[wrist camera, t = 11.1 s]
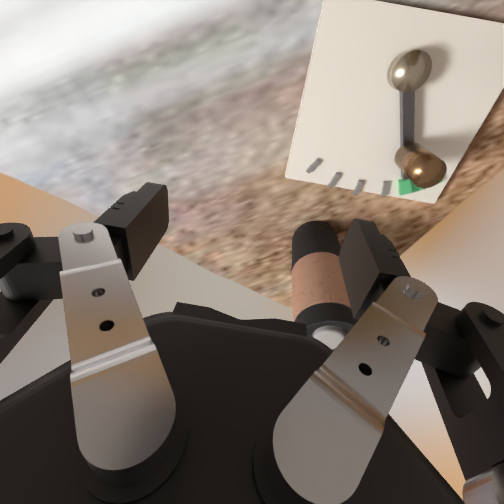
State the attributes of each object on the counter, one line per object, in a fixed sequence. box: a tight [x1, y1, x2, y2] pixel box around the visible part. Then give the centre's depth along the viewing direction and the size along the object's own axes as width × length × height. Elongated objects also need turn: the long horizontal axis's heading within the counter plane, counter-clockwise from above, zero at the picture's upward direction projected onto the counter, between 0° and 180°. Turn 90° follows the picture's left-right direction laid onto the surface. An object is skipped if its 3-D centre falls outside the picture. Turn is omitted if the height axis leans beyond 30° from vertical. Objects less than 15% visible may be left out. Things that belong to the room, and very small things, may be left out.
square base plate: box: [285, 0, 504, 204], centre depth 33 cm, size 20×21×2 cm
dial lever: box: [387, 50, 447, 188], centre depth 29 cm, size 14×4×7 cm, turn 18°
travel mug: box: [292, 221, 358, 351], centre depth 37 cm, size 8×8×20 cm
